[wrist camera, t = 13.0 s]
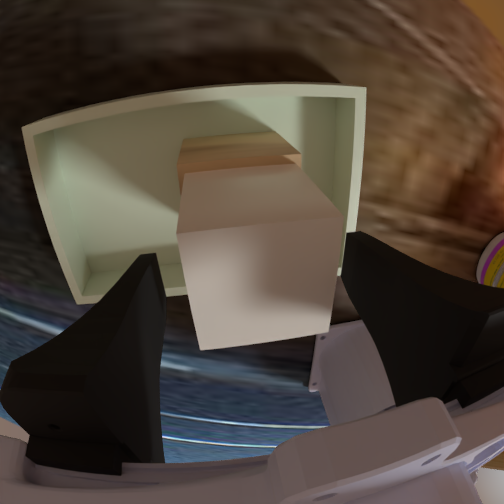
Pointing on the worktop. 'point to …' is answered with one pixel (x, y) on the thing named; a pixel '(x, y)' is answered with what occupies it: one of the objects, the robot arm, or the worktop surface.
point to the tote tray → (175, 167)
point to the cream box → (258, 254)
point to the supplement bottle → (492, 263)
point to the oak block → (234, 152)
